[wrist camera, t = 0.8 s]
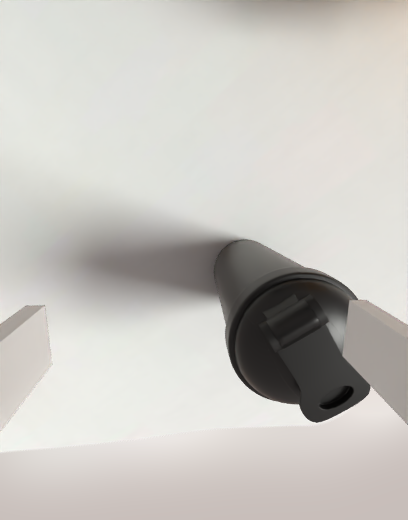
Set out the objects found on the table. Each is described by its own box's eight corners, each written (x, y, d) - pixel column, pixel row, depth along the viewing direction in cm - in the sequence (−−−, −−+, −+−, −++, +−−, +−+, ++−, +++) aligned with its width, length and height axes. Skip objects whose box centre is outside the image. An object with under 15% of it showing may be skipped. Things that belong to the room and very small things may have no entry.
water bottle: (231, 318, 41) (285, 464, 19) (193, 258, 39) (204, 346, 17) (293, 281, 41) (424, 388, 18) (258, 218, 39) (360, 254, 16)
